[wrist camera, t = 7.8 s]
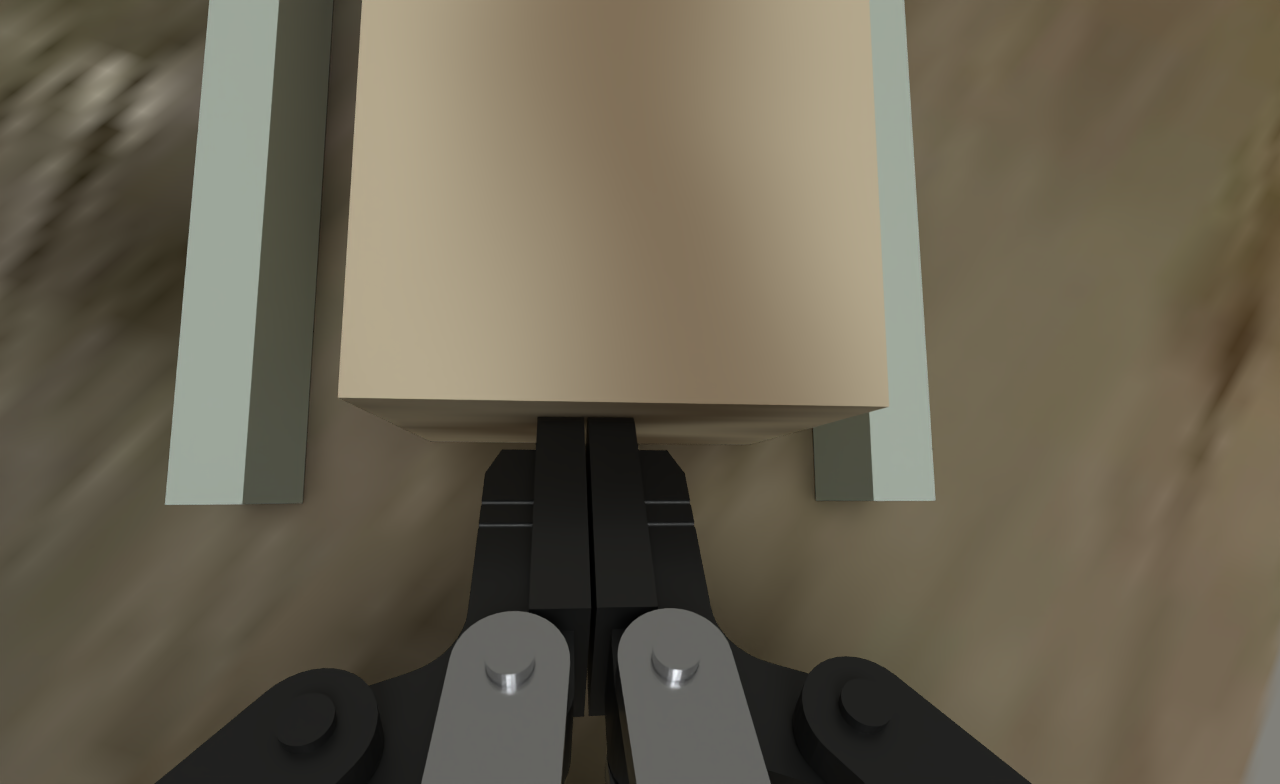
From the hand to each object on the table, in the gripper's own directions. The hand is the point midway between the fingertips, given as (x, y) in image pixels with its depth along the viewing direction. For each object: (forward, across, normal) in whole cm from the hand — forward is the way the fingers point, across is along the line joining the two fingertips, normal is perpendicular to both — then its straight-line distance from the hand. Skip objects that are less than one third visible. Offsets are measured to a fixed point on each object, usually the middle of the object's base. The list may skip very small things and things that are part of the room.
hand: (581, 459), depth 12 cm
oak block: (+8, 0, -2) cm, 8 cm away
